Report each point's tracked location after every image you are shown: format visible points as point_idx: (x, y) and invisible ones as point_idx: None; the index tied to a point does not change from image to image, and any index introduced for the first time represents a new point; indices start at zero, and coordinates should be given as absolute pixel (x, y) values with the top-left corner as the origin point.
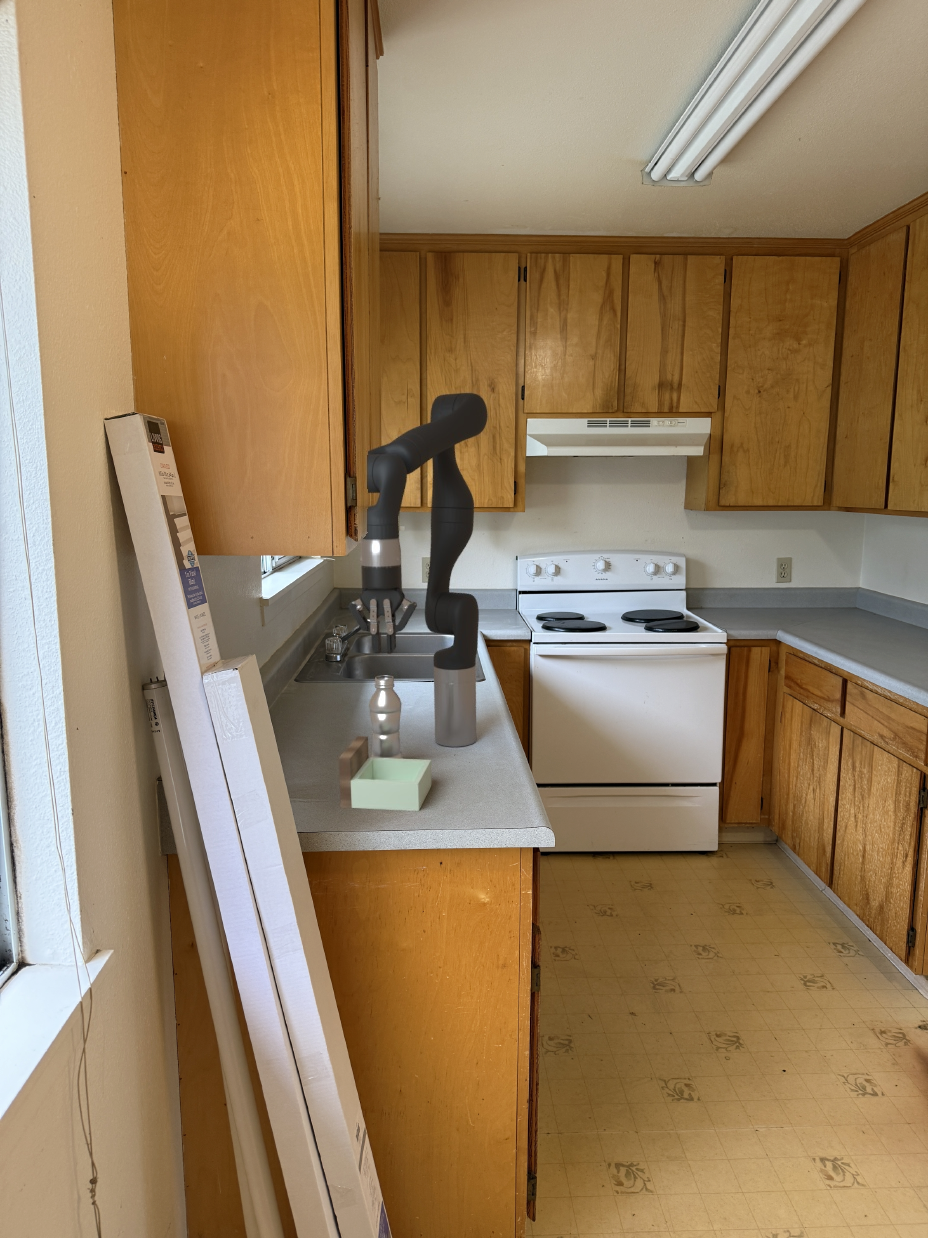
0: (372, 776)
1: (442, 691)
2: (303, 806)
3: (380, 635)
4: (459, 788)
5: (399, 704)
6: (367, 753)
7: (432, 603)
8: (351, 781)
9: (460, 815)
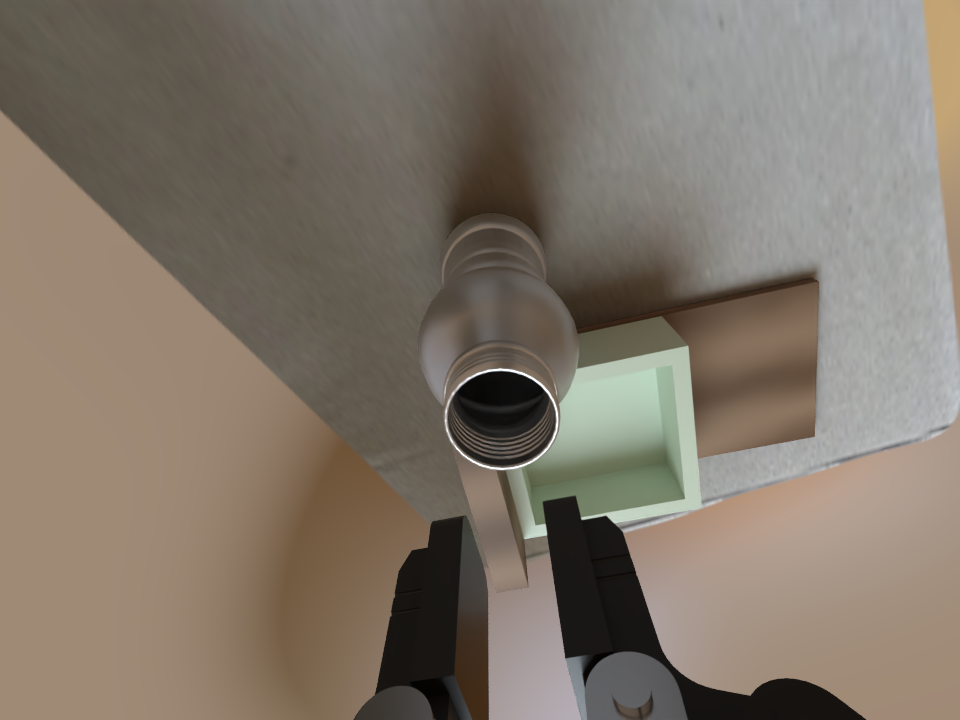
0: None
1: None
2: (397, 488)
3: (459, 655)
4: (733, 273)
5: (578, 354)
6: None
7: None
8: (525, 537)
9: None
